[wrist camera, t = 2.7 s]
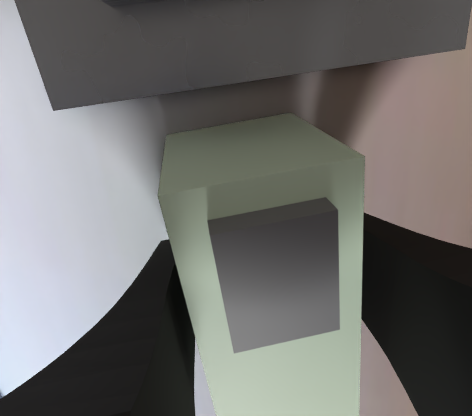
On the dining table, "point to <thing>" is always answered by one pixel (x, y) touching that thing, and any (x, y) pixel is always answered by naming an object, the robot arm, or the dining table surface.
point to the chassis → (221, 41)
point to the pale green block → (270, 262)
